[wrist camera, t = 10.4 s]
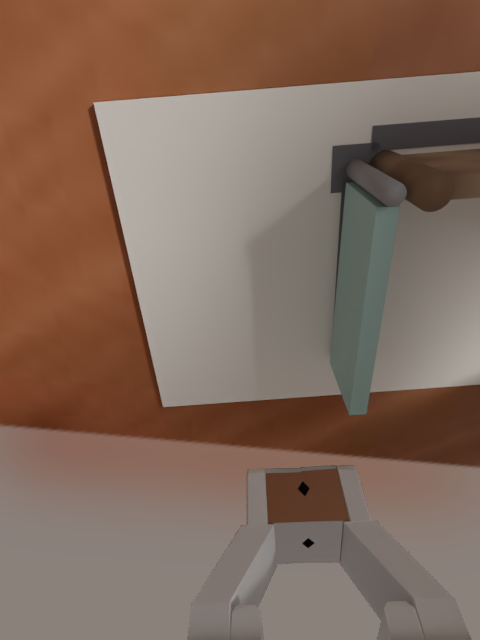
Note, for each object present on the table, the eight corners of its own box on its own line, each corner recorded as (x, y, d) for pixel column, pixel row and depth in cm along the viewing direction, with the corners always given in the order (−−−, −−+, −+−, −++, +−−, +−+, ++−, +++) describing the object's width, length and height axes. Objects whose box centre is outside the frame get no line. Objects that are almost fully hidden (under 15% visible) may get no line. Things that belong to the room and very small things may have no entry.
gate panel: (347, 159, 21) (383, 182, 16) (366, 158, 21) (408, 181, 16) (329, 361, 27) (351, 420, 22) (343, 360, 27) (368, 419, 22)
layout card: (666, 56, 19) (675, 55, 19) (535, 376, 29) (540, 380, 29) (95, 102, 19) (93, 102, 19) (163, 403, 30) (162, 407, 29)
